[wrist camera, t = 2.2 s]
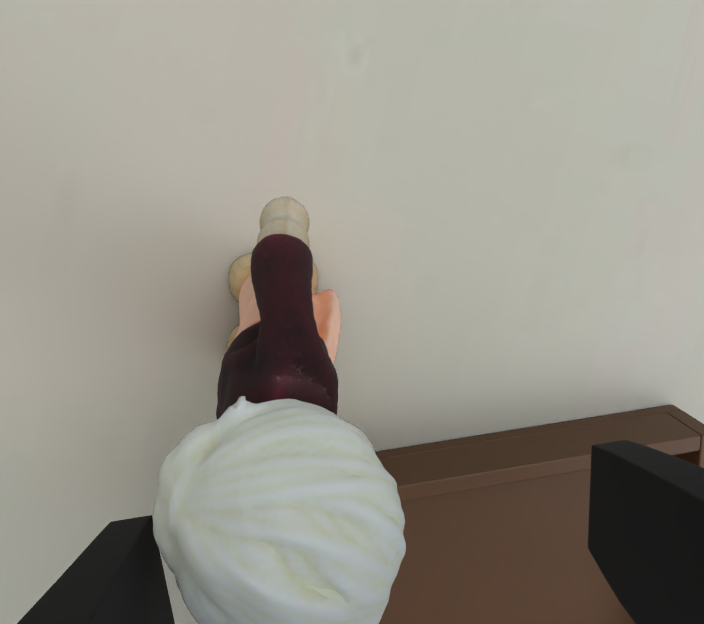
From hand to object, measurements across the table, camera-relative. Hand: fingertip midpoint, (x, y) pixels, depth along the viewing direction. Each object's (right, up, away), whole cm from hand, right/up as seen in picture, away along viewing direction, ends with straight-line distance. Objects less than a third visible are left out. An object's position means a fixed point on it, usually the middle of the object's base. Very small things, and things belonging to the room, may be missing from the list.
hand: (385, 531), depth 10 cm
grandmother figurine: (-3, +4, +9) cm, 11 cm away
